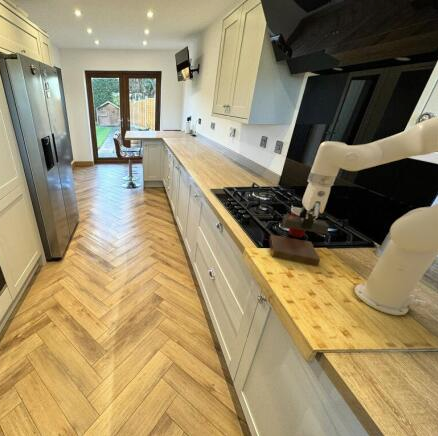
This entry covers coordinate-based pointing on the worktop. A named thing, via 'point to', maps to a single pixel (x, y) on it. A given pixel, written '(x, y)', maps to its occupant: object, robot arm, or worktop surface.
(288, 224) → the remote
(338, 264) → the worktop surface
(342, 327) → the worktop surface
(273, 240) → the block
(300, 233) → the plastic cup
